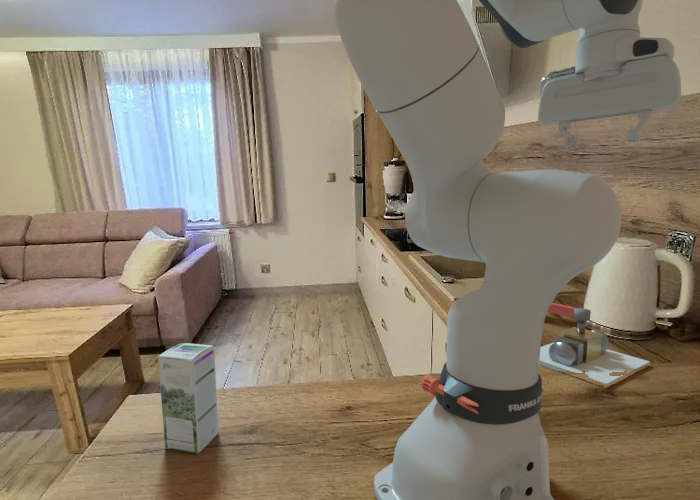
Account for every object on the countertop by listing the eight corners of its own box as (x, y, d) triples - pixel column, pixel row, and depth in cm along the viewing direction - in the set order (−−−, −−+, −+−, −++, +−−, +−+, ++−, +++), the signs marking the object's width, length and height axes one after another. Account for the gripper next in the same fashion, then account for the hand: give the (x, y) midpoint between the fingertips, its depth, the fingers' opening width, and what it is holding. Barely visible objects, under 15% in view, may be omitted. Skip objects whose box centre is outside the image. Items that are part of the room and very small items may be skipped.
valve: (574, 371, 82) (576, 330, 81) (546, 361, 87) (548, 323, 86) (610, 355, 90) (613, 318, 89) (583, 347, 95) (585, 312, 94)
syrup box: (220, 432, 62) (215, 343, 60) (197, 456, 56) (192, 358, 55) (188, 428, 63) (182, 340, 62) (162, 450, 58) (156, 354, 56)
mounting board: (606, 388, 75) (606, 383, 75) (520, 358, 90) (521, 353, 90) (649, 365, 86) (650, 361, 85) (566, 341, 101) (566, 337, 100)
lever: (585, 322, 85) (586, 312, 85) (531, 309, 96) (532, 300, 96) (592, 319, 87) (593, 310, 87) (539, 307, 98) (539, 298, 97)
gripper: (533, 70, 71) (530, 149, 73) (681, 35, 56) (673, 135, 58) (546, 77, 75) (543, 152, 77) (687, 47, 61) (679, 139, 63)
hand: (600, 145), depth 68 cm, fingers open, 8 cm apart
